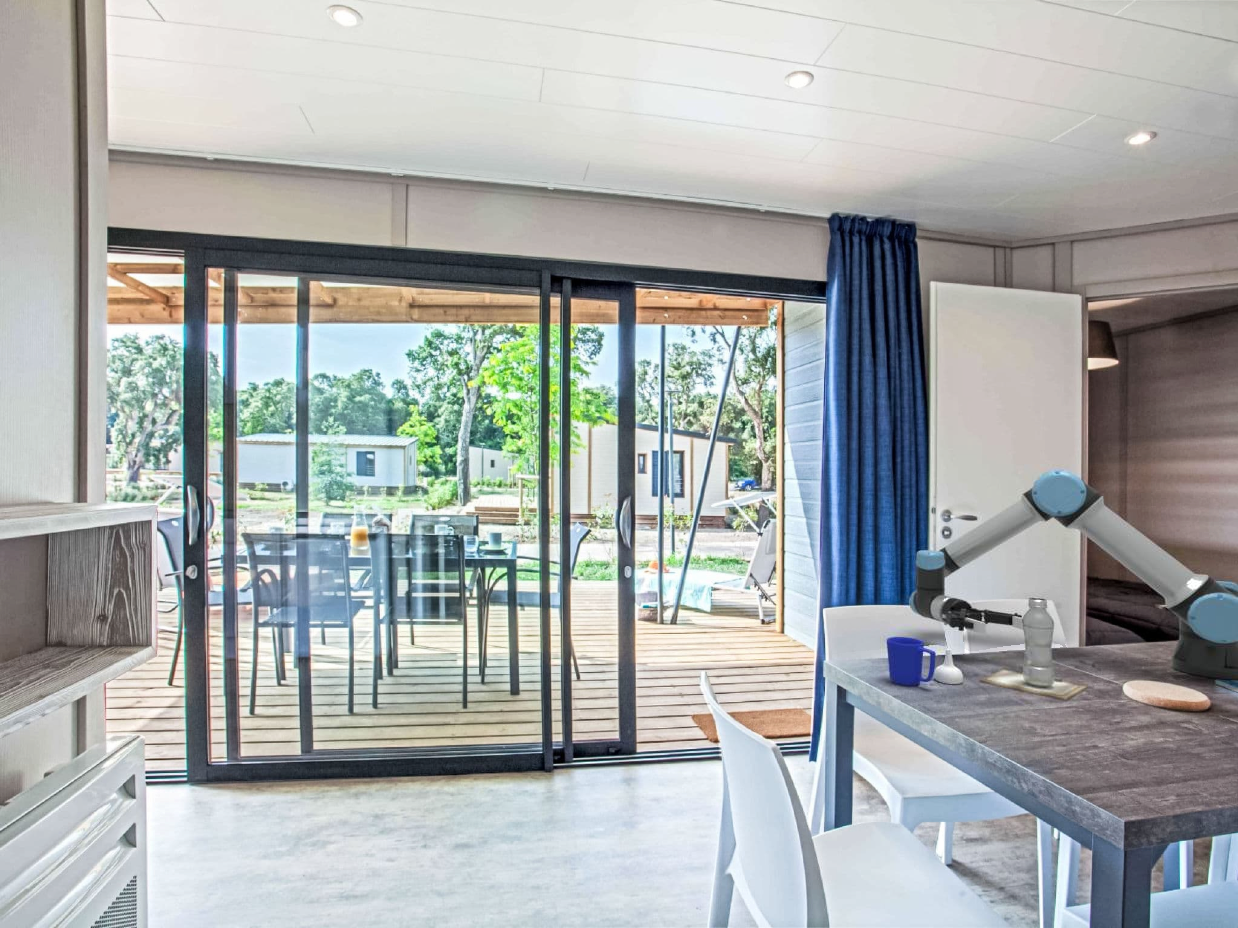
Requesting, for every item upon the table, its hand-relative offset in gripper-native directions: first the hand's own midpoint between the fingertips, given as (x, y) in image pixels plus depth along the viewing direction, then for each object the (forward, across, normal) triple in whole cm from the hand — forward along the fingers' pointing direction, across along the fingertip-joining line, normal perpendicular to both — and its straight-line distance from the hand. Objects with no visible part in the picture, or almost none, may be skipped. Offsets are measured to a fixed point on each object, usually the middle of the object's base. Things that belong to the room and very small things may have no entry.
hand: (1009, 627), depth 166 cm
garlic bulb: (0, +17, -12) cm, 21 cm away
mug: (+2, +27, -12) cm, 30 cm away
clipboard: (+6, -1, -12) cm, 14 cm away
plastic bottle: (+9, 0, -12) cm, 15 cm away
